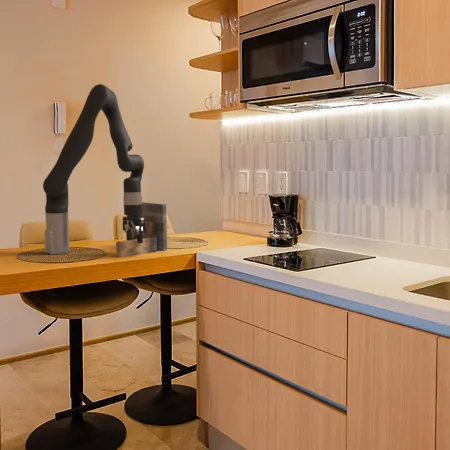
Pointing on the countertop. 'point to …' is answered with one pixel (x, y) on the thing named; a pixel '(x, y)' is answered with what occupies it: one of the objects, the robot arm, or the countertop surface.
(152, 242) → the rail
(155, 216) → the slotted block base plate
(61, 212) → the robot arm
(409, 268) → the countertop surface
